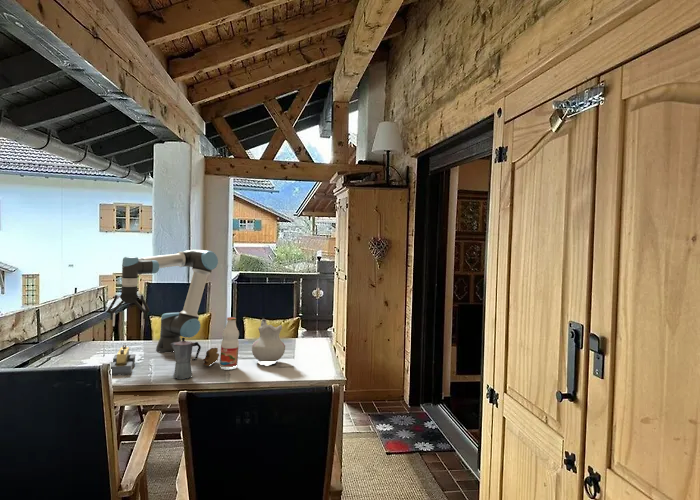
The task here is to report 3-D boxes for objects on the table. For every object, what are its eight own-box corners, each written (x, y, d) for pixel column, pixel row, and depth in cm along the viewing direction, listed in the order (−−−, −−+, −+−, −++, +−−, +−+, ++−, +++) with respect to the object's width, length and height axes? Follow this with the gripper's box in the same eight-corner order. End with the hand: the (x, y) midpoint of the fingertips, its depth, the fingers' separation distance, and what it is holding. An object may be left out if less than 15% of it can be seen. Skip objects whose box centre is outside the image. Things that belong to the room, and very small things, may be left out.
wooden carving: (211, 361, 252) (212, 344, 252) (219, 362, 252) (220, 345, 252) (200, 369, 236) (201, 351, 236) (209, 370, 236) (210, 351, 236)
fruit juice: (240, 367, 244) (243, 317, 244) (230, 371, 236) (233, 320, 235) (226, 364, 248) (230, 315, 248) (215, 368, 239) (219, 317, 239)
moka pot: (171, 373, 225) (173, 335, 225) (201, 374, 227) (204, 336, 227) (164, 379, 216) (167, 339, 216) (196, 380, 217) (199, 340, 217)
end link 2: (130, 374, 219) (131, 365, 219) (108, 375, 216) (108, 366, 216) (132, 370, 227) (132, 361, 227) (110, 371, 223) (111, 362, 223)
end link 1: (114, 362, 237) (115, 354, 237) (134, 362, 241) (135, 354, 241) (112, 367, 230) (113, 358, 230) (133, 366, 233) (134, 358, 233)
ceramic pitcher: (242, 362, 259) (242, 321, 257) (269, 355, 273) (269, 316, 271) (264, 371, 244) (264, 327, 242) (291, 363, 258) (292, 322, 256)
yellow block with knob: (119, 362, 234) (121, 344, 234) (128, 361, 236) (129, 344, 236) (116, 370, 220) (117, 351, 220) (124, 369, 222) (126, 351, 222)
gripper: (101, 286, 224) (100, 327, 224) (155, 286, 233) (153, 326, 234) (103, 284, 231) (102, 324, 231) (155, 285, 240) (153, 323, 241)
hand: (128, 325), depth 233 cm, fingers open, 13 cm apart
